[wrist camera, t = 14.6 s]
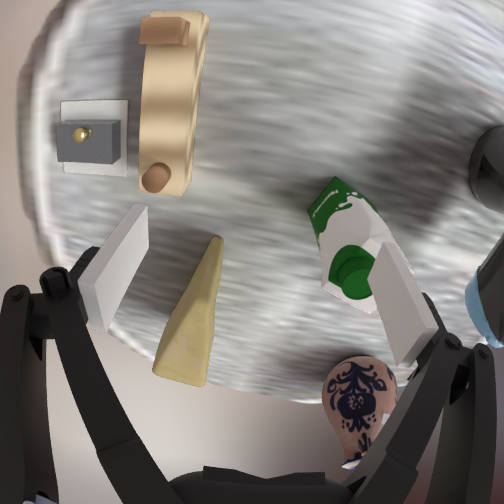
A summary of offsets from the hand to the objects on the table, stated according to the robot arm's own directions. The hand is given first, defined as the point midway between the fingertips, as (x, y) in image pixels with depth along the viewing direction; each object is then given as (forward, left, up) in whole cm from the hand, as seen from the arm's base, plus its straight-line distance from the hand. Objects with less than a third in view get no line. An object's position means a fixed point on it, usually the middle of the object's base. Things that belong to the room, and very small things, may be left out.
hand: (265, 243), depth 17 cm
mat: (+18, -19, -29) cm, 39 cm away
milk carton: (0, +16, -29) cm, 33 cm away
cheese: (+27, +12, -29) cm, 41 cm away
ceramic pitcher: (+22, +55, -29) cm, 66 cm away
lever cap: (+18, -19, -28) cm, 38 cm away
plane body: (+5, -12, -29) cm, 31 cm away
